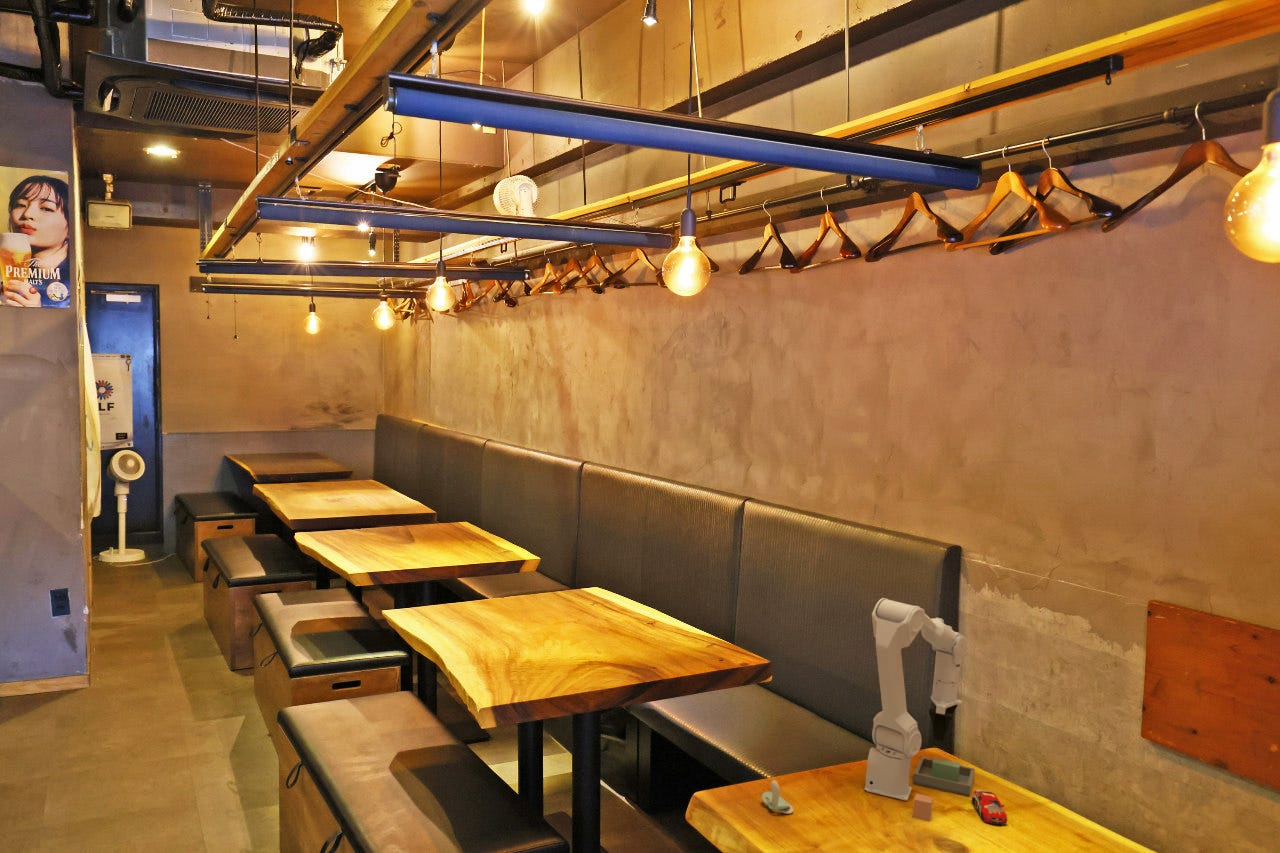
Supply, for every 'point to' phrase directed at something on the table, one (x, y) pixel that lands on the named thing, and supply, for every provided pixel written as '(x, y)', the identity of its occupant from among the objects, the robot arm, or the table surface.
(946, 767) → the green long brick
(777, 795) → the pacifier
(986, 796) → the race car
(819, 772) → the table surface
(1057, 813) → the table surface
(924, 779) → the gray tray
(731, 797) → the table surface
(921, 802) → the terracotta square brick
